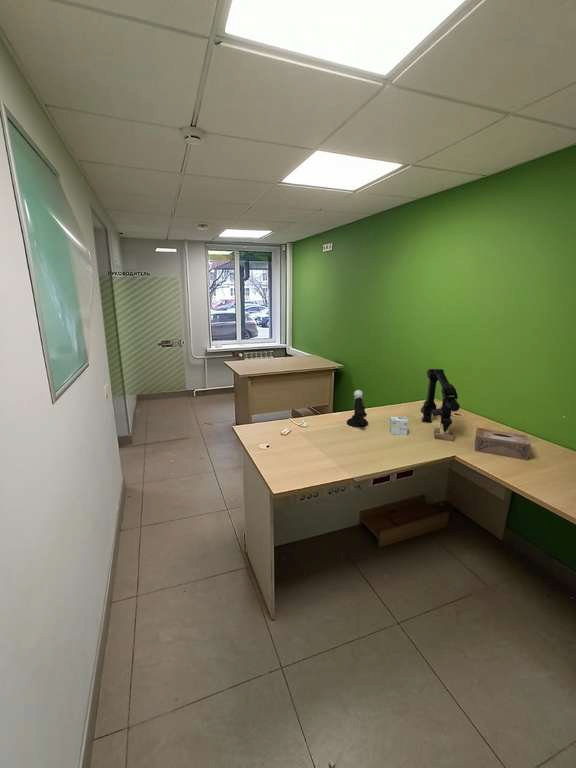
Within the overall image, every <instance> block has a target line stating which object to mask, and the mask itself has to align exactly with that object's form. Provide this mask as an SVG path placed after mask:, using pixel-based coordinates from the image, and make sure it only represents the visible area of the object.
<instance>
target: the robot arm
mask: <svg viewBox="0 0 576 768" xmlns="http://www.w3.org/2000/svg"><path fill="white" fill-rule="evenodd" d="M426 377H427V379H428V388H427V395H426V400H425V401H424V403H423V405H422V407H421V408H420V412H421V414H423V415H422V418H421V422H422V423H433V421H432V418H433V417H438V416H440V422H441V423H442V424H443V429H444V432H446V430H447V429H448V428H449V429H450V426H451V425H452V424H453V419H452V418H451V417H452V412H454V413H455V412H457V411H459V410H460V408H461V407H460V404H459V403H458V397H459V395H458V393H457V390H456V388H455V386H454V385H453V384H452V383H450V381H449V380H448V377H447V376H446V374H445V370H444V369H443V368H442V369H441V368H428V370H426ZM437 382H439V384H440V387H441V388H440V389H441V390H440V392H441V398H442V402H441V403H442V404H441V407H440V408H437V404H436V402H435V396H436V389H437V388H436V387H437Z"/></svg>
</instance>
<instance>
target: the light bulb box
mask: <svg viewBox="0 0 576 768" xmlns="http://www.w3.org/2000/svg"><path fill="white" fill-rule="evenodd" d="M389 418H390V419H389V420H390V421H389V434H390V435H392V436H407V435H408V429H409V427H408V426H409V419H408V418H407V416H390V417H389Z"/></svg>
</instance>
